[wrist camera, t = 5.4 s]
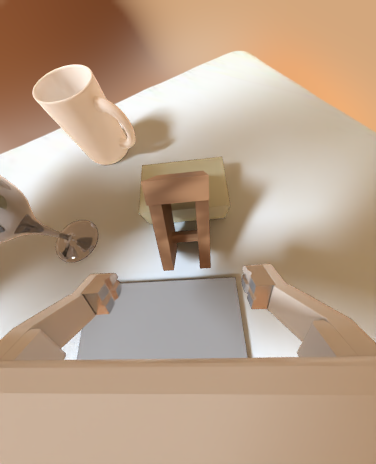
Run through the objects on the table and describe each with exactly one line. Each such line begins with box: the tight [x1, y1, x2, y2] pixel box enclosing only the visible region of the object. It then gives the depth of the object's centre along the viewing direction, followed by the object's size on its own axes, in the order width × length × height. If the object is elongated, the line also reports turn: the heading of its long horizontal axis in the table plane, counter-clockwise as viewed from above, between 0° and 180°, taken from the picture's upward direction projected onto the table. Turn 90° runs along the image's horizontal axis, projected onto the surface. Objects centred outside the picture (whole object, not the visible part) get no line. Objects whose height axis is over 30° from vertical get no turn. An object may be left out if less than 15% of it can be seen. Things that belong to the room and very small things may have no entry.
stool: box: [141, 171, 211, 271], centre depth 16 cm, size 6×11×11 cm, turn 3°
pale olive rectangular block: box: [139, 157, 230, 224], centre depth 21 cm, size 12×8×4 cm, turn 93°
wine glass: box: [0, 175, 98, 262], centre depth 15 cm, size 8×8×15 cm
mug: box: [32, 65, 136, 165], centre depth 23 cm, size 12×8×10 cm
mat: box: [77, 277, 248, 360], centre depth 17 cm, size 20×13×1 cm, turn 93°
